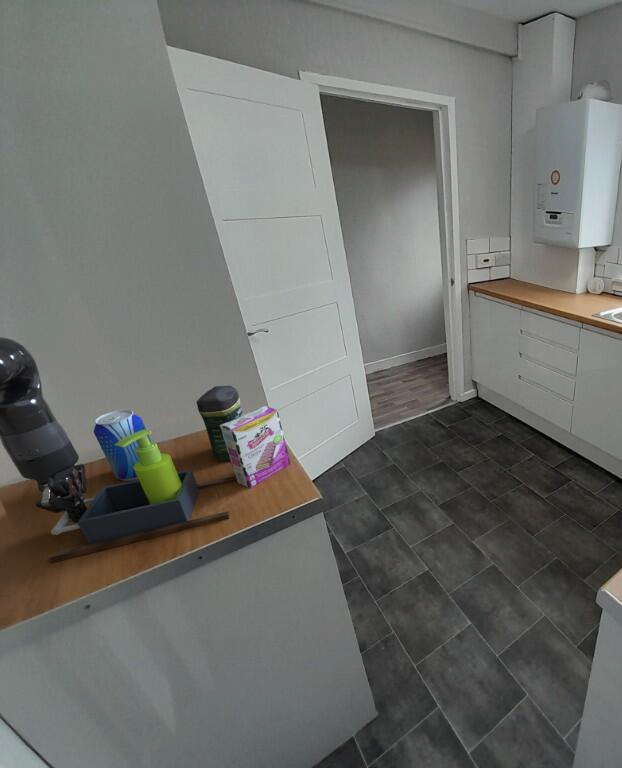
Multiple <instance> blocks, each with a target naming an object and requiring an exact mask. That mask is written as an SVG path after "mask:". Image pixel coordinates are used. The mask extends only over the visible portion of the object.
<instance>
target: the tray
mask: <svg viewBox="0 0 622 768" xmlns="http://www.w3.org/2000/svg"><path fill="white" fill-rule="evenodd" d="M193 471H194V470H193V469H192V468H191V469H187V470H182V471H181V470H180V471H177V474H178V476H179V479H180V481H181V483H182V485H181V487H180V490H179V492H178V495H177V497H176V499H174V500H169V501H165V502H160V503H155V504H151V505H150V503H149V501H148V498H147V496H146V494H145V492H144V490H143V488H142V485H141V483H140V481H139V480H134V481H124V482H120V483H115V484H111V485H105V486H101V487H100V489H99V491H98V492H97V494H96V495H95V497H91V498H87V499H84V501H83V502H84V503H85V505H88V504H89V505H88V506H87V507H88V508H87V510H86V511H85V513H84V514H83V515H82V517H81V518H80V520H79V521H78V523H74V524H70V525H68V524H69V522H70V521H72V520H71V518H70V516H69V515H68V513H67V511H64V512H63V515H62V516H60V519H58V521H57V523H55V525H54V526H53V528H52V529H51V530H50V534H51V535H54V536H57V535H60V534H61V533H65V532H70V531H74V530H80V531H81V533H82V535H83V536H84V539H85V540H86V542H87V545H89V544H93V543H97V542H102V541H106V540H110V539H114V538H118V537H123V536H127V535H131V534H135V533H139V532H144V531H148V530H152V529H156V528H160V527H165V526H169V525H173V524H177V523H181V522H185V521H190V519H191V517H192V513H193V510H194V508H195V505H196V502H197V499H198V496H199V493H200V491H201V490H199V488H198V485H197V484H198V482H197V480H196V476H195V474H194V472H193ZM129 508H130V509H129Z"/></svg>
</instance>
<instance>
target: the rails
mask: <svg viewBox="0 0 622 768" xmlns="http://www.w3.org/2000/svg"><path fill="white" fill-rule="evenodd" d="M236 482H237V479H236V476H235V475H233V476H230V477H224V478H220V479H215V480H211V481H210V480H209V481H205V482H201V483H197V485H198V488H199V490H200V491H201V490H206V489H209V488H215V487H219V486H223V485H227V484H231V483H236ZM86 507H87V508H88V507H89V506H86ZM230 518H231V513H230V511H229V510H228V511H224V512H219V513H216V514H211V515H207V516H203V517H199V518H198V517H197V518H194V519H191V520H190V519H189V521H185V522H181V523H177V524H173V525H169V526H165V527H160V528H156V529H152V530H148V531H144V532H139V533H135V534H131V535H127V536H123V537H118V538H114V539H110V540H106V541H102V542H97V543H93V544H86V545H82V546H78V547H77V546H76V547H73V548H69V549H65V550H60V551H56V552H52V553H51V554H50V555H49V557H48V559H49V561H50V562H51V563H56V562H60V561H63V560H67V559H68V560H69V559H72V558H76V557H80V556H84V555H88V554H92V553H93V554H94V553H97V552H101V551H104V550H108V549H112V548H117V547H121V546H124V545H130V544H133V543H138V542H141V541H146V540H150V539H153V538H154V539H155V538H157V537H161V536H165V535H170V534H174V533H178V532H181V531H186V530H190V529H194V528H198V527H203V526H206V525H210V524H214V523H219V522H222V521H225V520H226V521H227V520H229V519H230Z"/></svg>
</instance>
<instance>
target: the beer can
mask: <svg viewBox="0 0 622 768" xmlns="http://www.w3.org/2000/svg"><path fill="white" fill-rule="evenodd" d="M94 423H95V426H94V428H93V434H94V436H95V438H96V440H97V442H98V445H99V446H100V448H101V450H102V452H103V454H104V456H105V458H106V460H107V462H108V465H109V466H110V468H111V470H112V472H113V474H114V476H115V478H116V479H118V480H121V481H123V482H130V481H135V480H139V479H138V477H137V475H136V472H135V470H134V465H135V464H136V463H137V462H138V461H139V458H138V456H137V454H136V452H135V450H136V448H137V447H139V444H138V442H137V440H136V441H133V442H132V443H130V444H128V445H127V446H125V447H120V446H116V445H115V444H116V443H117V442H119V441H120V440H122V439H123V438H125V437H127V436H129V435H131V434H133V433H136V432H139V431H141V430H147V428H146V426H145V423H144V421H143V419H142V418H141V417H140V416H138V415H137V414H135V413H134V412H133V411H132V410H130V409H120V410H113V411H110V412H107V413H104V414H102V415H100V416H98V417H97V418H96V419H95V420H94ZM147 437H148V439H149V441H150V443H153V442H152V440H151V438H150V434H149V435H147Z"/></svg>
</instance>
